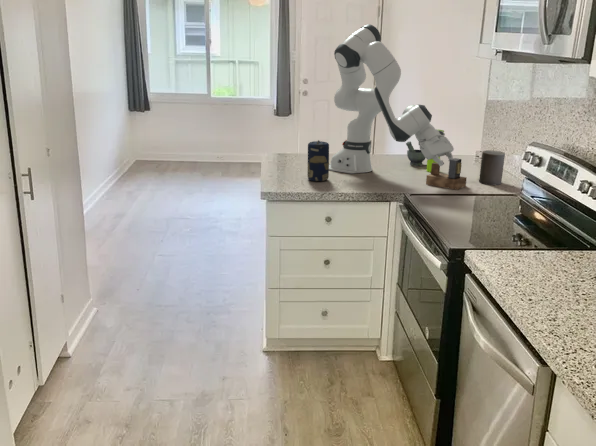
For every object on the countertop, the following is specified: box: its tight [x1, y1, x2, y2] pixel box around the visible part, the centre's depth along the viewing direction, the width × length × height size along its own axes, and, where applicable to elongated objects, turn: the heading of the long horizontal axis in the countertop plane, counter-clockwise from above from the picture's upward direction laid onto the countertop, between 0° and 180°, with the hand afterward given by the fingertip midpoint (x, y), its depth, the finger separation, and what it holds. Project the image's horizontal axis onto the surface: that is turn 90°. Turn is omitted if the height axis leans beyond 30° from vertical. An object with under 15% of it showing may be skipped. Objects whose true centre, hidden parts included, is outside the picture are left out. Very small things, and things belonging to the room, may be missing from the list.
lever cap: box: [447, 157, 463, 179], centre depth 255 cm, size 4×5×12 cm
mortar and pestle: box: [405, 141, 426, 167], centre depth 300 cm, size 11×9×12 cm
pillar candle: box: [478, 149, 506, 186], centre depth 263 cm, size 10×10×15 cm
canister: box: [307, 139, 330, 182], centre depth 265 cm, size 10×10×18 cm
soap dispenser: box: [426, 129, 445, 173], centre depth 284 cm, size 6×7×20 cm
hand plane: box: [425, 163, 467, 191], centre depth 258 cm, size 15×8×9 cm, turn 50°
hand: (447, 163), depth 256 cm, fingers open, 8 cm apart
